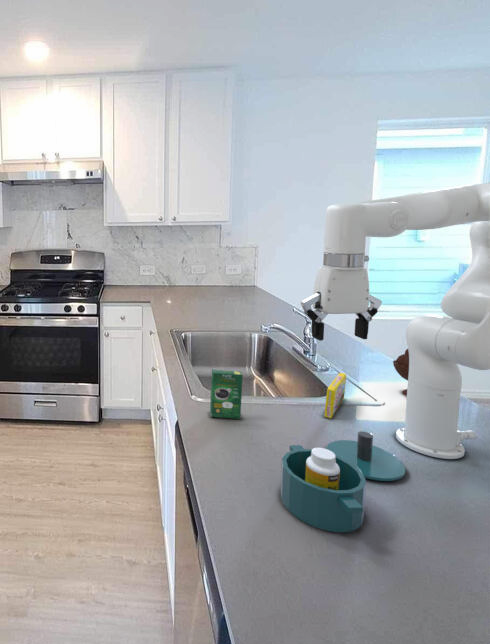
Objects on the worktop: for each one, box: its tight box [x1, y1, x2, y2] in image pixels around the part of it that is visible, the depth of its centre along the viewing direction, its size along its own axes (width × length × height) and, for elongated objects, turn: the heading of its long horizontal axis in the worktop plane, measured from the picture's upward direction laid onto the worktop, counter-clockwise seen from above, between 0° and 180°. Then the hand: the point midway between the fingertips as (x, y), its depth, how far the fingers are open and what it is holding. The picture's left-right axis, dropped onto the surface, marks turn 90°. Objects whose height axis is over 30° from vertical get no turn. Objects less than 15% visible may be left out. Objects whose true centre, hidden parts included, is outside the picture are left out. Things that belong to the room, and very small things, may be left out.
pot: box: [280, 444, 367, 533], centre depth 78 cm, size 14×19×8 cm
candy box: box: [324, 372, 347, 419], centre depth 117 cm, size 16×2×8 cm, turn 137°
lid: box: [325, 431, 406, 482], centre depth 91 cm, size 15×15×7 cm
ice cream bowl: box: [392, 348, 409, 397], centre depth 124 cm, size 11×11×15 cm
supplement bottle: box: [305, 447, 340, 490], centre depth 77 cm, size 6×6×10 cm
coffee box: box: [209, 369, 244, 420], centre depth 113 cm, size 8×3×13 cm, turn 79°
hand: (339, 338), depth 90 cm, fingers open, 9 cm apart
